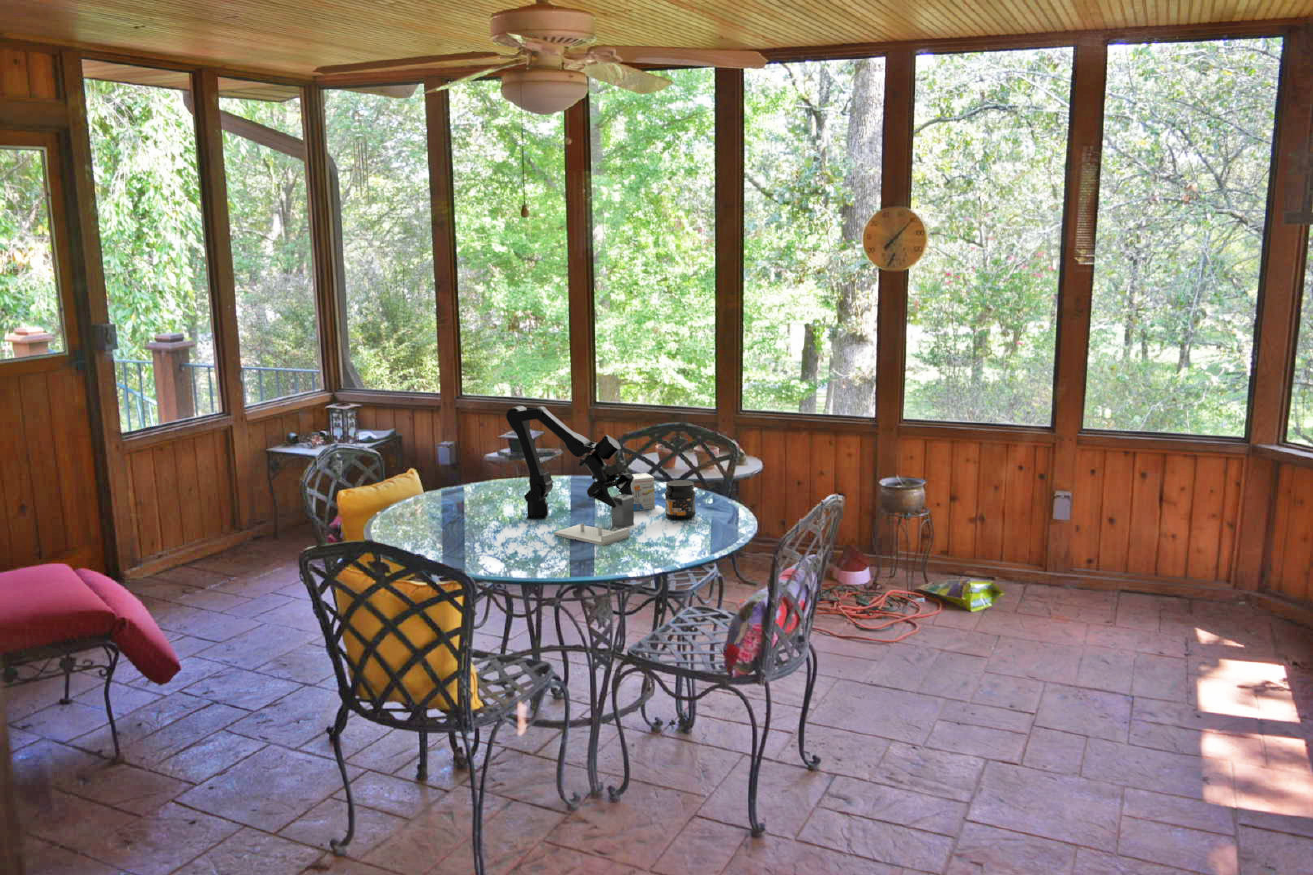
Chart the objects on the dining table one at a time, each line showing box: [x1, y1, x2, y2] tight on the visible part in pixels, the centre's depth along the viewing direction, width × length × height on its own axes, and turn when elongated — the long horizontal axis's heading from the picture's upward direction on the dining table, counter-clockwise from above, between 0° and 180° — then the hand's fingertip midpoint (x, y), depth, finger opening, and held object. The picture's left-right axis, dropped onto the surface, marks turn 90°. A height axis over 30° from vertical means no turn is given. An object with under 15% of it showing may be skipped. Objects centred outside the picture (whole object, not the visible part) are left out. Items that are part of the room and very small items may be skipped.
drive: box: [610, 493, 635, 529], centre depth 359 cm, size 5×6×10 cm
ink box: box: [631, 472, 656, 512], centre depth 383 cm, size 9×8×12 cm
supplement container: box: [664, 479, 697, 521], centre depth 368 cm, size 10×10×12 cm
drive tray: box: [553, 523, 630, 547], centre depth 346 cm, size 22×12×4 cm, turn 51°
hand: (624, 504), depth 358 cm, fingers open, 9 cm apart
